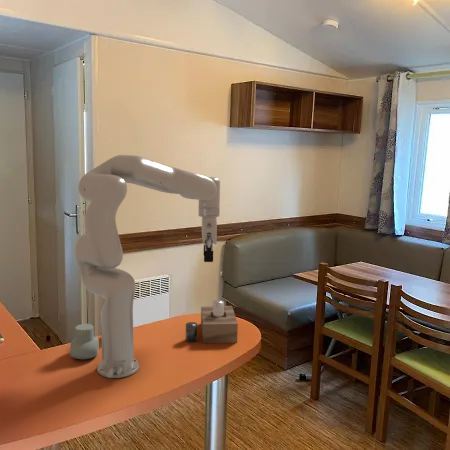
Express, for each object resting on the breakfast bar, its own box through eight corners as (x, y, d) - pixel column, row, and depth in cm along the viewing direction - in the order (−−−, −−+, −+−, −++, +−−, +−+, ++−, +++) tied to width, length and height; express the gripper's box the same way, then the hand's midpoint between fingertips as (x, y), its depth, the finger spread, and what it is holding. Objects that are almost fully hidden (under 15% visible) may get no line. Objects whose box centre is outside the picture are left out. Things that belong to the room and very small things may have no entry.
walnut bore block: (237, 342, 166) (237, 323, 165) (203, 343, 165) (203, 324, 164) (231, 323, 183) (232, 305, 182) (201, 323, 182) (201, 306, 181)
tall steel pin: (224, 334, 172) (224, 303, 170) (213, 335, 172) (213, 303, 170) (223, 330, 176) (223, 299, 174) (212, 330, 176) (212, 300, 174)
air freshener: (74, 349, 159) (73, 321, 157) (99, 347, 160) (98, 320, 159) (69, 364, 148) (68, 334, 147) (96, 362, 150) (95, 332, 148)
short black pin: (197, 342, 166) (197, 326, 164) (186, 342, 165) (185, 326, 164) (197, 337, 169) (197, 321, 168) (185, 338, 169) (185, 322, 168)
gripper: (220, 215, 160) (219, 264, 163) (218, 208, 177) (217, 253, 180) (198, 215, 159) (197, 264, 162) (198, 208, 176) (197, 253, 179)
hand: (208, 258), depth 171 cm, fingers open, 9 cm apart
